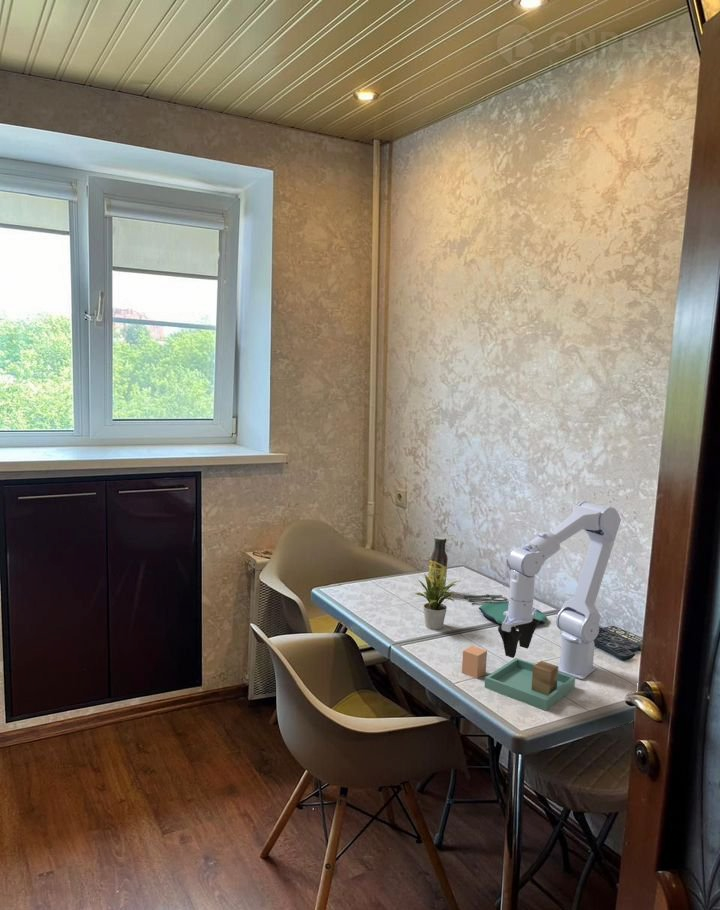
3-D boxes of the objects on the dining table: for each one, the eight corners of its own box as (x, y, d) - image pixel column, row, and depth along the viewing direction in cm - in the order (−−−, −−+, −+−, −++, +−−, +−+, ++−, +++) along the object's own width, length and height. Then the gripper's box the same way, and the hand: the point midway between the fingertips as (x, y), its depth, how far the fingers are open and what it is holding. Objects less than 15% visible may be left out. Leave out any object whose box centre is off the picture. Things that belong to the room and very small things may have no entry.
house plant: (457, 639, 189) (460, 584, 187) (409, 634, 191) (412, 580, 189) (460, 622, 203) (463, 570, 201) (415, 617, 205) (417, 566, 203)
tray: (515, 666, 172) (516, 657, 172) (574, 687, 162) (575, 677, 162) (484, 687, 160) (485, 677, 160) (546, 710, 150) (546, 700, 150)
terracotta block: (470, 667, 171) (472, 645, 170) (485, 673, 168) (487, 650, 168) (461, 673, 168) (463, 650, 167) (476, 678, 165) (478, 655, 164)
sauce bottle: (423, 592, 229) (426, 536, 227) (434, 588, 234) (437, 534, 231) (438, 597, 225) (441, 540, 222) (449, 593, 229) (452, 537, 226)
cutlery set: (497, 631, 197) (498, 623, 196) (457, 599, 225) (457, 592, 225) (556, 627, 202) (557, 620, 202) (509, 596, 231) (509, 590, 230)
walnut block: (539, 683, 162) (541, 660, 161) (556, 690, 159) (558, 666, 158) (531, 689, 159) (533, 666, 158) (548, 696, 156) (550, 672, 155)
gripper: (519, 587, 168) (515, 638, 169) (491, 601, 157) (488, 655, 158) (545, 594, 163) (541, 646, 165) (519, 608, 152) (514, 664, 154)
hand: (517, 651), depth 161 cm, fingers open, 7 cm apart
